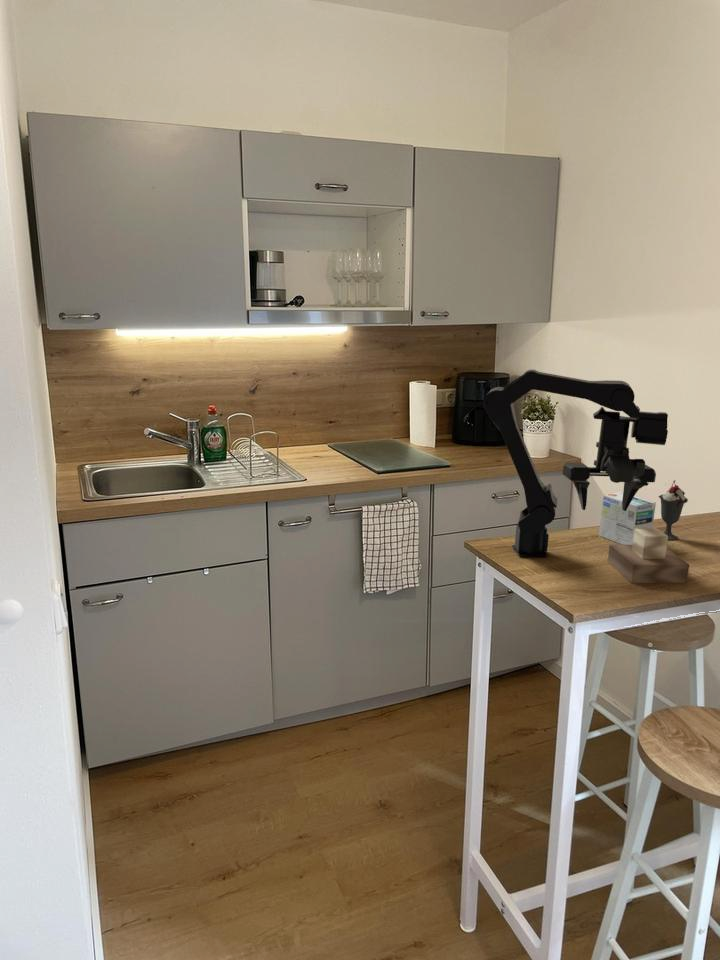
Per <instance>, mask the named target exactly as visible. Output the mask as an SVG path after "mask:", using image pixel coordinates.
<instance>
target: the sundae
mask: <svg viewBox="0 0 720 960" xmlns="http://www.w3.org/2000/svg"><path fill="white" fill-rule="evenodd" d="M675 482H676V480H673V481H672V484H671V486H670V487H669V489H668V490H666V492H665V493H663V494H661V495H658V498H659V499H660V517H661V519H662V521H663V522H664V523H665V524H666V527H665V529H664V531H663V533H664V534H666V535H667V536H668V541H677V540H679V537H678V536H677V535H675V534H673V533H672V525H674V524H676V523H677V522H678V521H680V517H681V515H682V511H683V507H684V505H685V504H686V503H688V502H689V498H687V497H685V494H686V492H685V491H684V490H683V489H681V488H680V486H679V485H677V484H676V483H675Z"/></svg>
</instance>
